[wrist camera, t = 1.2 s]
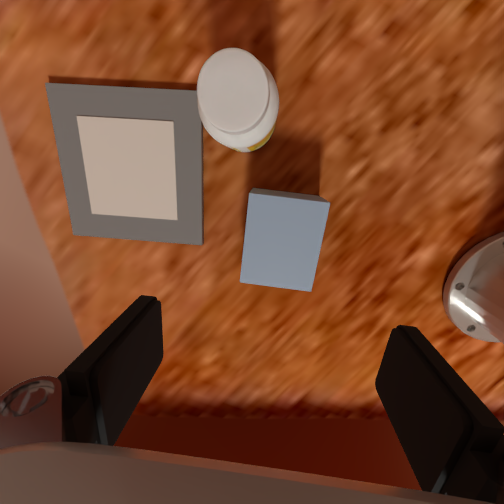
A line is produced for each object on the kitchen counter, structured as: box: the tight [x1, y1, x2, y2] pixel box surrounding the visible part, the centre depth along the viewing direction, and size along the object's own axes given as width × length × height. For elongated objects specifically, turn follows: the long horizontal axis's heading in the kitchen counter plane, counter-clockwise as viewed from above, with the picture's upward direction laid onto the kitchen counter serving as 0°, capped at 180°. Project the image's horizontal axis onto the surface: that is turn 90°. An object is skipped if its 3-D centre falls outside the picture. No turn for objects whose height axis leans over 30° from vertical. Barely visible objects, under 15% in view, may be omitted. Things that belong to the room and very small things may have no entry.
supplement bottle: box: [197, 48, 279, 152], centre depth 18 cm, size 5×5×10 cm
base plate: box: [45, 83, 204, 245], centre depth 24 cm, size 14×14×1 cm
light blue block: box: [240, 188, 330, 292], centre depth 24 cm, size 6×8×5 cm
